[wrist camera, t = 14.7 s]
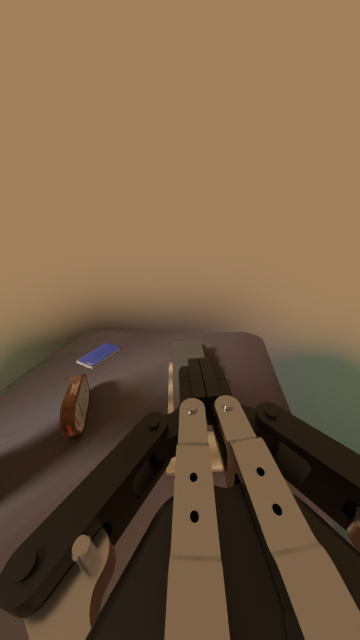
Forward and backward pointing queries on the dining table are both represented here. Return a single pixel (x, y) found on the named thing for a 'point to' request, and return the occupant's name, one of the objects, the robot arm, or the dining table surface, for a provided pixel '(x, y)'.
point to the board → (214, 452)
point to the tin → (74, 406)
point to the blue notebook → (98, 355)
